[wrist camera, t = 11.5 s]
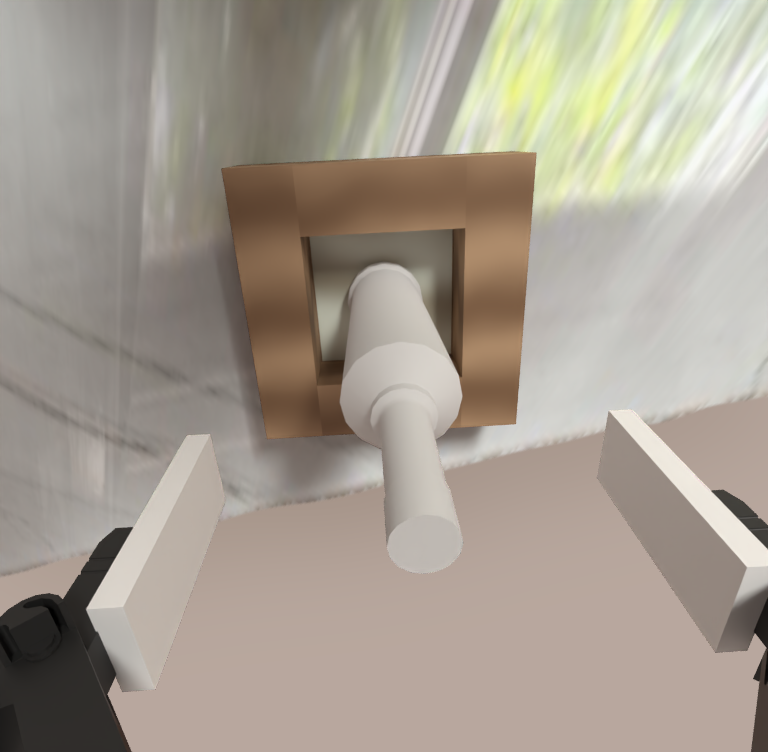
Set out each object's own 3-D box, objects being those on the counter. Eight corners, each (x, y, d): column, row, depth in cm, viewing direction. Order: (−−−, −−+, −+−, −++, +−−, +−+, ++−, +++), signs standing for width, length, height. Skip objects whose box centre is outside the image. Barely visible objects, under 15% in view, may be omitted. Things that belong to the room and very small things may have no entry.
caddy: (240, 165, 33) (221, 168, 28) (512, 151, 33) (536, 152, 29) (277, 406, 41) (266, 439, 36) (498, 392, 41) (515, 424, 36)
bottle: (430, 311, 37) (545, 576, 14) (366, 339, 37) (377, 636, 15) (402, 245, 35) (483, 432, 12) (335, 277, 35) (292, 509, 13)
